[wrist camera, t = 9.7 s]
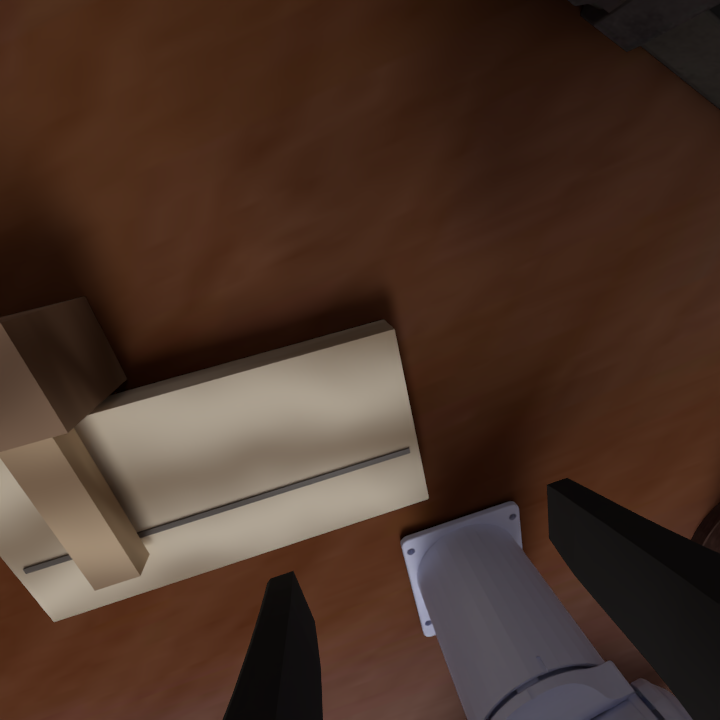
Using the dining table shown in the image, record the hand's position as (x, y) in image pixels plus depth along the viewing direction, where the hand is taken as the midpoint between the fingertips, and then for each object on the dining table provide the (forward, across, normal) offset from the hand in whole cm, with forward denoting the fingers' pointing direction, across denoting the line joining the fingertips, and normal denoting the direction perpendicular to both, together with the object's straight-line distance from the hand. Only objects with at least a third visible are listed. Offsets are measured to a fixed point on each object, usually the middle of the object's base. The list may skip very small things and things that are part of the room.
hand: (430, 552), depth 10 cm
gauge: (+11, +13, -2) cm, 17 cm away
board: (+10, +8, +2) cm, 13 cm away
